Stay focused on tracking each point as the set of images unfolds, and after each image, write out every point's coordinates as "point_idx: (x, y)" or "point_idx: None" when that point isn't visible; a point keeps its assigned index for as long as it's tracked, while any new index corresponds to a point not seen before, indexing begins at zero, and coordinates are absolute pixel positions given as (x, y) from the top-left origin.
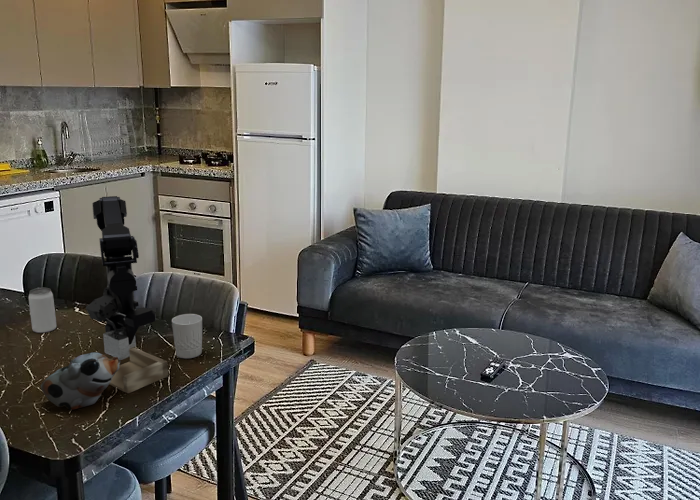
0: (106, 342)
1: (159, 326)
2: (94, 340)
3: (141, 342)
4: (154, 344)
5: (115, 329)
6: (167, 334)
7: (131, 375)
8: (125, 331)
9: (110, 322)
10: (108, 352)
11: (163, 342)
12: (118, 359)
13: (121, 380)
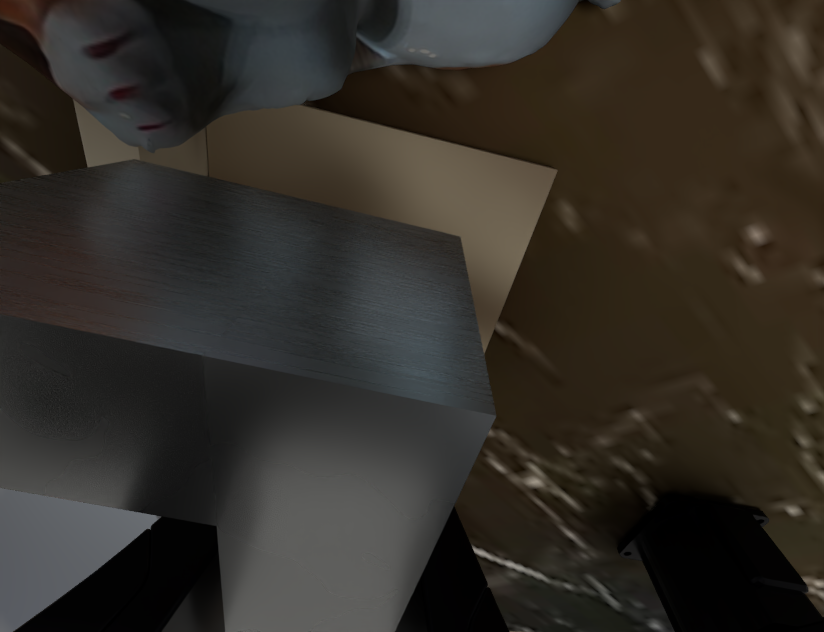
0: (388, 286)
1: (578, 608)
2: (805, 486)
3: (563, 522)
4: (497, 523)
5: (456, 593)
6: (506, 580)
7: (84, 124)
8: (114, 591)
9: (782, 613)
10: (379, 225)
11: (474, 541)
12: (141, 143)
13: (330, 185)
